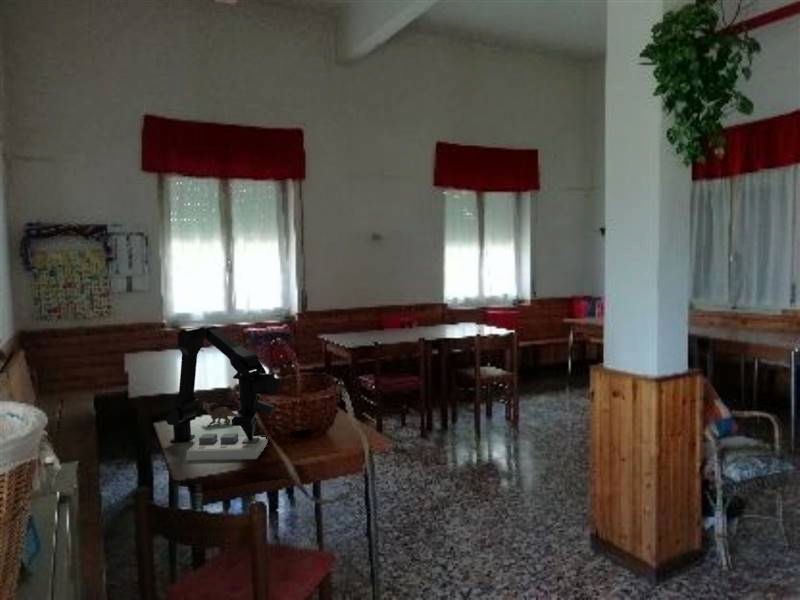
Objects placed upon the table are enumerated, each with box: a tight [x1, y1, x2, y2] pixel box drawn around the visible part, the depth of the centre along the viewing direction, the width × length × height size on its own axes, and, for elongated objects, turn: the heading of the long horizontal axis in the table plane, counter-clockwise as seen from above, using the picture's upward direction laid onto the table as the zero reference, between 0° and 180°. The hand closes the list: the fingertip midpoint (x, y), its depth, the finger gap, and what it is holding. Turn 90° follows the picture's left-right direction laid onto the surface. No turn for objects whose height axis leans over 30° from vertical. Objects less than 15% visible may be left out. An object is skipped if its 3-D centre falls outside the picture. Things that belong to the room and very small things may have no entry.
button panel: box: [186, 435, 268, 461], centre depth 197 cm, size 14×22×3 cm, turn 88°
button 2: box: [242, 437, 259, 444], centre depth 198 cm, size 4×4×2 cm
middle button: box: [220, 432, 239, 444], centre depth 198 cm, size 4×4×2 cm
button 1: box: [198, 433, 218, 445], centre depth 198 cm, size 4×4×2 cm
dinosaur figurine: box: [202, 399, 238, 427], centre depth 231 cm, size 14×6×9 cm, turn 94°
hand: (250, 439), depth 198 cm, fingers closed, pressing on button 2
